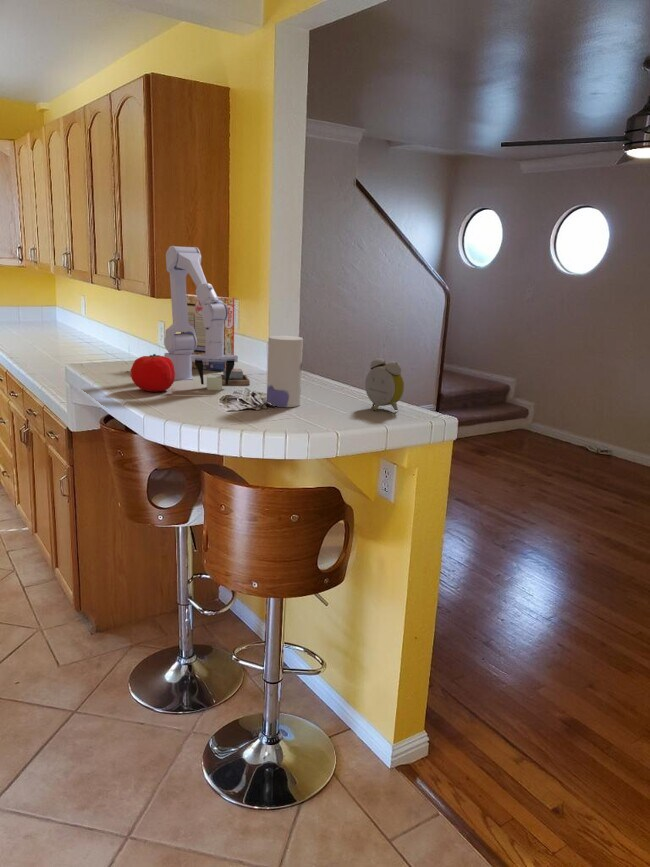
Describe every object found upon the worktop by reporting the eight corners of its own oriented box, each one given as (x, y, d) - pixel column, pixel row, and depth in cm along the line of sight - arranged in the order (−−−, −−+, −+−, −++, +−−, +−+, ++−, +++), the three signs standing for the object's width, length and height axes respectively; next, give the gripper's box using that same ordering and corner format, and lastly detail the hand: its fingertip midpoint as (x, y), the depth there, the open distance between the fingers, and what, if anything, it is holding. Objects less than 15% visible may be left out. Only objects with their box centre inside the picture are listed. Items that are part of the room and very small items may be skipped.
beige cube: (207, 391, 212) (207, 377, 211) (206, 388, 216) (206, 374, 215) (221, 391, 213) (222, 377, 212) (220, 388, 217) (220, 375, 216)
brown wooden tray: (213, 386, 220) (213, 380, 219) (210, 380, 230) (210, 374, 230) (249, 386, 223) (249, 380, 222) (245, 380, 233) (245, 374, 232)
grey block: (224, 383, 223) (224, 371, 222) (223, 380, 229) (223, 368, 228) (242, 383, 224) (242, 371, 223) (240, 380, 230) (240, 368, 229)
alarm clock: (403, 412, 196) (407, 362, 193) (387, 415, 192) (391, 363, 188) (374, 404, 205) (377, 356, 201) (358, 407, 200) (362, 357, 196)
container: (307, 405, 199) (310, 338, 194) (282, 409, 193) (284, 340, 187) (284, 399, 206) (287, 334, 201) (259, 403, 199) (261, 335, 194)
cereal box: (234, 370, 251) (235, 297, 244) (225, 372, 245) (225, 298, 238) (189, 364, 259) (189, 293, 252) (179, 366, 254) (179, 294, 247)
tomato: (178, 394, 206) (178, 357, 203) (133, 395, 200) (132, 357, 197) (171, 386, 216) (171, 351, 213) (128, 387, 211) (127, 351, 208)
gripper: (191, 342, 205) (191, 386, 209) (238, 343, 209) (238, 386, 212) (190, 339, 212) (191, 382, 215) (236, 340, 215) (236, 382, 219)
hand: (214, 384), depth 214 cm, fingers open, 7 cm apart
